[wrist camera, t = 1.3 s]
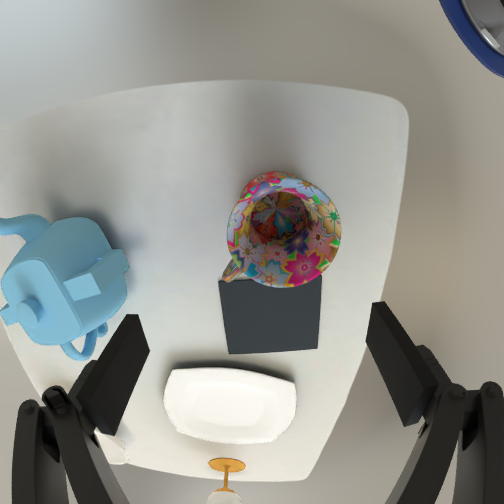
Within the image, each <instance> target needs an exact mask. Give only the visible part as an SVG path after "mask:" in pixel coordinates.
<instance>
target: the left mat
mask: <svg viewBox="0 0 504 504" xmlns="http://www.w3.org/2000/svg"><path fill="white" fill-rule="evenodd" d="M218 283H219V291H220V298H221V305H222V312H223V319H224V326H225V332H226V339H227V346H228V352H229V354H251V353H270V352H284V351H297V350H308V349H317V347H318V334H319V320H320V304H321V284H322V275H319V276H317V277H316V278H314V279H313V280H311V281H309V282H307V283H304V284H302V285H299V286H294V287H287V288H278V287H271V286H267V285H264V284H261V283H259V282H256V281H255V280H253V279H248V280H233V281H231V282H226V281H219V282H218Z"/></svg>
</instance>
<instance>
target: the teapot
mask: <svg viewBox="0 0 504 504" xmlns="http://www.w3.org/2000/svg"><path fill="white" fill-rule="evenodd" d="M11 234H18V235H20V236H21V237H22V238H23V239H24V240H25V241H26V242H27V243H26V244H25V245H24V246H23V247H22V248H21V250H20V251H19V252H18V254H17V255H16V256H15V258H14V259H13V260H12V262H11V263H10V265H9V267H8V268H7V270H6V271H5V273H4V275H3V277H2V279H1V289H2V292H3V294H4V296H5V299H6V300H7V302H8V303H7V304H6V305H5V306H4V307H3V308H2V309H1V310H0V315H1V317H2V318H3V320H4V322H5V324H6V325H10V324H14V323H17V322H19V323H20V325H21V326H22V328H23V329H24V331H25V332H26V333H27V335H28V336H29V337H30V339H31V340H32V341H34V342H35V343H38V344H41V345H60V346H61V348H62V349H63V351H64V352H65V354H66V355H67V356H69V357H70V358H72V359H74V360H77V361H84V360H87V359H89V358H90V357H91V355H92V354H93V352H94V348H95V344H96V338H97V337H103V336H104V335H105V334H106V333H107V331H108V327H107V323H106V321H107V320H108V319H109V318H111V317H112V316H113V315H114V314H115V313H116V312H117V311H118V310H119V309H120V307H121V306H122V305H123V303H124V302H125V299H126V296H127V285H126V280H125V277H124V274H123V273H124V272H125V271H126V270H128V269H129V268H130V266H129V264H128V262H127V260H126V258H125V255H124V253H123V251H122V249H112V248H111V246H110V244H109V242H108V240H107V239H106V237H105V235H104V233H103V231H102V230H101V228H100V227H99V225H98V224H97V223H96V222H94V221H93V220H91V219H88V218H85V217H72V218H67V219H63V220H60V221H57V222H55V223H52V224H51V223H49V222H48V221H47V220H46V219H45V218H43V217H41V216H39V215H35V214H27V215H22V216H18V217H14V218H8V219H4V218H0V235H11ZM85 334H86V340H85V345H84V348H83V351H82V353H80V352H78V351H77V350H76V349H75V348H74V346H73V345H72V343H71V342H70V341H72V340H74V339H77V338H79V337H81V336H83V335H85Z"/></svg>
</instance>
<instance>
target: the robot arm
mask: <svg viewBox="0 0 504 504" xmlns="http://www.w3.org/2000/svg"><path fill="white" fill-rule="evenodd" d="M459 3H460V6H461V9H462V11H463V13H464V15H465V17H466V19H467V20H468V22H469V24H470V25H471V27H472V28H473V30H474V31H475V32H476V34H477V35H478V36H479V38H480V39H481V40H482V41H483V42H484V43H485V44H486V45H487V46H488V47H489V48H490V49H491V50H492V51H493V52H495V53H496V54H498V55H499V56H501V57H504V0H459ZM366 343H367V345H368V347H369V350H370V352H371V354H372V356H373V358H374V360H375V362H376V364H377V366H378V369H379V371H380V373H381V375H382V377H383V379H384V382H385V384H386V386H387V388H388V391H389V393H390V395H391V397H392V400H393V402H394V404H395V407H396V409H397V411H398V414H399V416H400V418H401V421H402V423H403V426H404V427H406V426H409V425H412V424H415V423H418V422H419V420H420V419H421V417H422V415H423V417H424V419H425V422H424V424H423V426H422V427H421V429H420V430H419V432H418V434H419V436H418V439H417V441H416V444H415V446H414V448H413V450H412V453H411V455H410V457H409V459H408V461H407V463H406V465H405V467H404V470H403V472H402V474H401V475H400V478H399V479H398V482H397V483H396V485H395V487H394V489H393V490H392V492H391V494H390V496H389V497H388V499H387V501H386V503H385V504H435V501H436V499H437V497H438V495H439V492H440V490H441V487H442V485H443V482H444V480H445V477H446V474H447V472H448V468H449V466H450V463H451V460H452V457H453V454H454V450H455V447H456V444H457V440H458V455H457V470H456V479H455V480H456V481H455V488H454V495H453V502H452V504H504V397H503V391H502V389H501V387H500V386H499V385H498V384H497V383H495V382H491V381H489V382H485V383H484V384H483V385H482V387H481V389H480V390H469V391H468V390H466V389H465V388H464V387H462V386H461V385H459V384H455V383H452V382H451V380H450V379H449V377H448V376H447V374H446V373H445V371H444V370H443V368H442V367H441V365H440V364H439V362H438V361H437V359H436V358H435V356H434V355H433V353H432V352H431V350H429V349H428V348H427V347H425V346H424V345H420V346H415V345H414V344H413V342H412V340H411V339H410V337H409V336H408V334H407V333H406V331H405V330H404V328H403V327H402V326H401V324H400V323H399V321H398V320H397V318H396V317H395V316H394V314H393V313H392V311H391V310H390V309H389V307H388V306H387V304H386V303H385V301H383V302H374V303H372V308H371V314H370V320H369V325H368V331H367V336H366ZM149 352H150V350H149V347H148V344H147V341H146V338H145V335H144V332H143V328H142V325H141V322H140V319H139V315H138V314H127V315H126V316H125V318H124V319H123V321H122V322H121V324H120V325H119V327H118V328H117V330H116V331H115V333H114V334H113V336H112V338H111V339H110V341H109V342H108V344H107V345H106V347H105V349H104V350H103V352H102V353H101V355H100V357H99V358H98V360H91V361H90V362H89V363H88V364H87V365H85V367H84V369H83V370H82V372H81V374H80V375H79V377H78V379H77V380H76V381H75V383H74V385H73V386H72V388H71V390H70V391H69V393H68V395H67V393H66V392H65V390H64V389H63V388H62V387H61V386H52V387H50V388H48V389H47V390H45V391H44V393H43V395H42V401H43V402H44V404H45V405H46V406H44V407H40V406H39V404H38V403H37V402H36V401H35V400H31V399H30V400H26V401H25V402H23V403H22V404H21V405H20V408H19V411H18V418H17V423H16V431H15V439H14V449H13V462H12V504H69V500H68V492H67V484H66V473H67V475H68V479H69V482H70V484H71V487H72V490H73V492H74V495H75V497H76V500H77V502H78V504H130V503H129V501H128V500H127V498H126V496H125V494H124V493H123V491H122V489H121V487H120V485H119V483H118V481H117V479H116V477H115V476H114V473H113V471H112V469H111V467H110V465H109V463H108V461H107V459H106V457H105V454H104V452H103V450H102V448H101V445H100V443H99V441H98V438H97V436H96V434H95V433H94V431H95V428H96V427H97V428H98V430H99V431H100V432H101V433H102V434H106V435H111V436H115V434H116V431H117V429H118V426H119V424H120V421H121V419H122V416H123V414H124V411H125V409H126V406H127V404H128V401H129V399H130V397H131V394H132V392H133V389H134V387H135V385H136V382H137V380H138V378H139V375H140V373H141V371H142V368H143V366H144V364H145V361H146V359H147V357H148V355H149ZM65 470H66V472H65Z"/></svg>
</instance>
